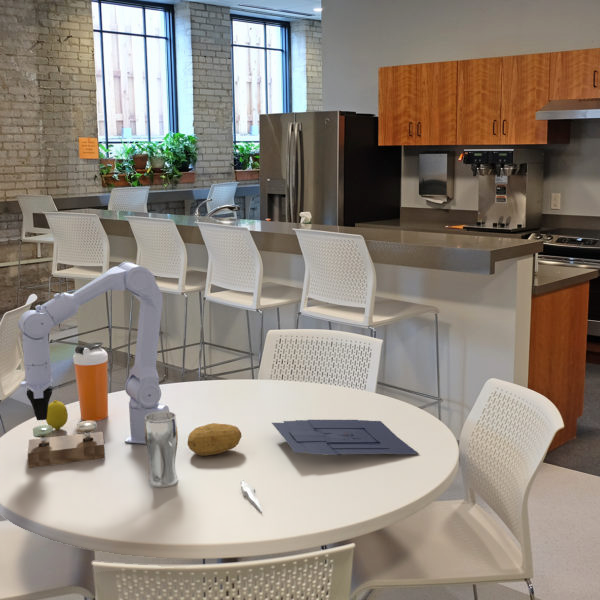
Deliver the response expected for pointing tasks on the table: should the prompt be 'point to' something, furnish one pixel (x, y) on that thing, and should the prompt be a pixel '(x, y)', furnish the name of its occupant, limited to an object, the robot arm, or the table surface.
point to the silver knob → (87, 428)
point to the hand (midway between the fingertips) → (41, 419)
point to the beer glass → (161, 447)
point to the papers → (341, 437)
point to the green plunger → (43, 433)
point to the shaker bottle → (92, 381)
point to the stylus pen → (250, 494)
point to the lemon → (57, 415)
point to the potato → (213, 439)
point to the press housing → (66, 450)
